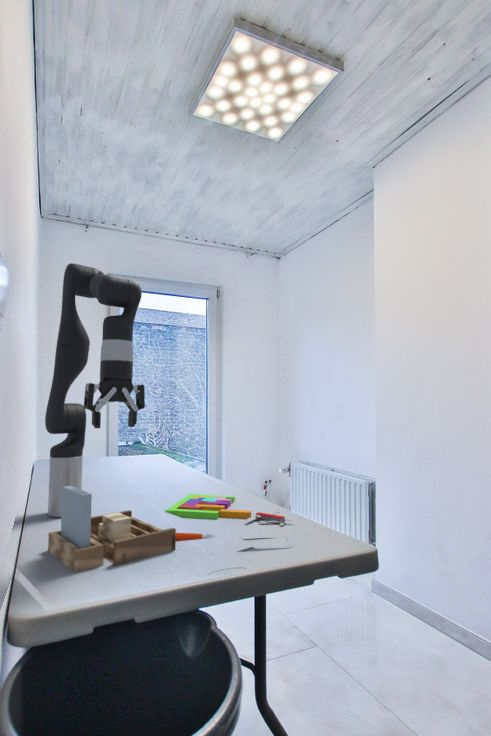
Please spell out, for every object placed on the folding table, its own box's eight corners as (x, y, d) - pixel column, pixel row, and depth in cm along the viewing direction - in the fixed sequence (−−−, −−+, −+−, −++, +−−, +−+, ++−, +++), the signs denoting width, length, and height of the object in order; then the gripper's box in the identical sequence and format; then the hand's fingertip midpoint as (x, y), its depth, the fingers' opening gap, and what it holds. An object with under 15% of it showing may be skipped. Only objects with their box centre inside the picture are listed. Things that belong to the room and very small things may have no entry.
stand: (44, 556, 94) (45, 533, 94) (76, 549, 98) (77, 527, 99) (71, 579, 82) (72, 552, 82) (106, 569, 86) (107, 544, 87)
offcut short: (102, 525, 98) (102, 515, 98) (118, 522, 101) (119, 512, 101) (113, 531, 94) (114, 520, 94) (130, 527, 96) (131, 517, 96)
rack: (74, 544, 102) (75, 520, 102) (129, 532, 111) (129, 510, 112) (115, 571, 86) (116, 542, 86) (175, 554, 95) (175, 528, 95)
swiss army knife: (302, 520, 124) (302, 513, 124) (279, 531, 112) (279, 523, 112) (267, 514, 130) (267, 508, 130) (243, 524, 118) (243, 517, 119)
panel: (60, 551, 94) (62, 486, 95) (68, 549, 95) (70, 485, 96) (80, 567, 85) (82, 495, 86) (89, 565, 86) (91, 494, 87)
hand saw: (288, 528, 110) (302, 541, 100) (288, 541, 110) (301, 555, 100) (159, 531, 103) (160, 545, 93) (158, 544, 103) (159, 560, 93)
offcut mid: (98, 533, 99) (98, 523, 100) (114, 529, 102) (115, 520, 102) (113, 541, 93) (113, 531, 94) (130, 537, 96) (130, 527, 96)
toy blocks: (165, 518, 127) (248, 522, 122) (165, 510, 127) (248, 514, 122) (190, 500, 149) (261, 504, 144) (190, 494, 149) (261, 497, 144)
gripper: (137, 362, 111) (135, 425, 110) (81, 358, 102) (78, 427, 101) (151, 361, 105) (149, 427, 104) (93, 356, 96) (90, 429, 95)
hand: (114, 427), depth 102 cm, fingers open, 8 cm apart
